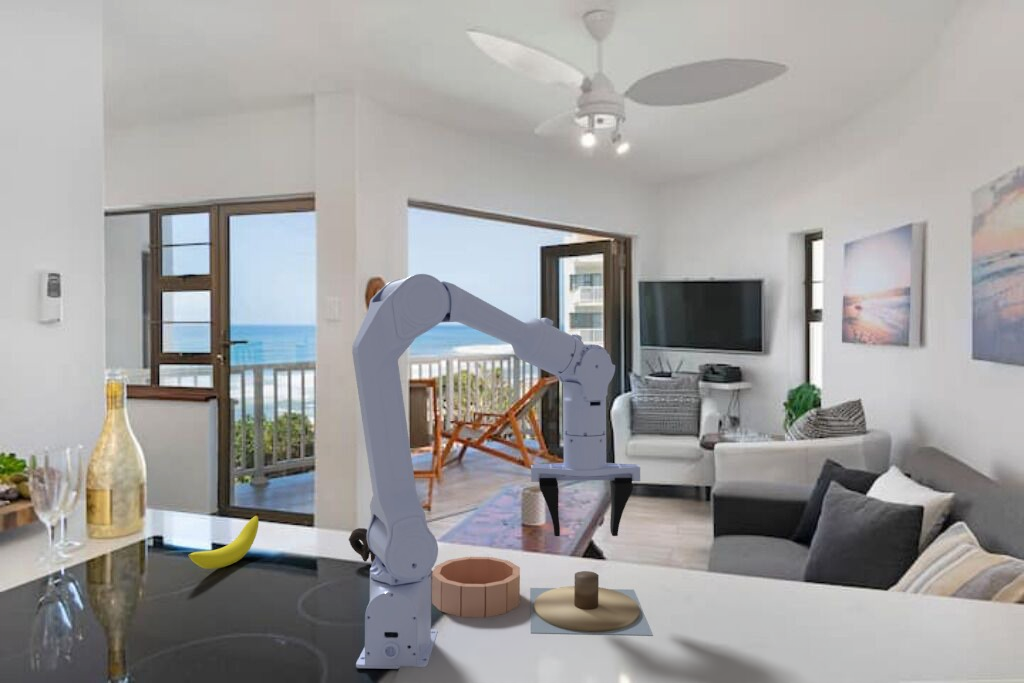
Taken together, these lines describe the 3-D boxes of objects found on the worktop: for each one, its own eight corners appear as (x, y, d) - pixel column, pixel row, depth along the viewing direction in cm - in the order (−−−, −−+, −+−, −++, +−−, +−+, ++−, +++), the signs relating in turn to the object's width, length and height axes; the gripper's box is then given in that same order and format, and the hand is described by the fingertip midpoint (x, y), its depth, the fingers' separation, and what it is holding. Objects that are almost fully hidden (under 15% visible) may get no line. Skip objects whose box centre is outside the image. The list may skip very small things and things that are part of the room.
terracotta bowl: (518, 621, 88) (519, 587, 88) (427, 620, 88) (427, 585, 88) (519, 587, 100) (520, 557, 100) (439, 586, 100) (439, 556, 100)
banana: (179, 587, 99) (179, 544, 99) (250, 548, 118) (250, 511, 118) (197, 589, 99) (197, 545, 99) (265, 549, 117) (265, 512, 117)
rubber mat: (652, 639, 83) (652, 635, 83) (530, 637, 84) (530, 632, 84) (633, 593, 98) (633, 589, 98) (530, 591, 99) (530, 587, 99)
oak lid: (647, 632, 84) (648, 595, 84) (534, 631, 84) (534, 594, 84) (630, 590, 98) (630, 558, 98) (533, 589, 98) (533, 557, 98)
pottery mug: (421, 557, 115) (430, 522, 111) (408, 601, 107) (418, 564, 103) (352, 539, 115) (359, 503, 111) (334, 582, 106) (341, 544, 103)
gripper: (634, 428, 95) (634, 525, 95) (530, 429, 95) (531, 525, 95) (642, 436, 88) (643, 540, 88) (530, 437, 88) (531, 541, 88)
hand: (585, 534), depth 91 cm, fingers open, 7 cm apart
